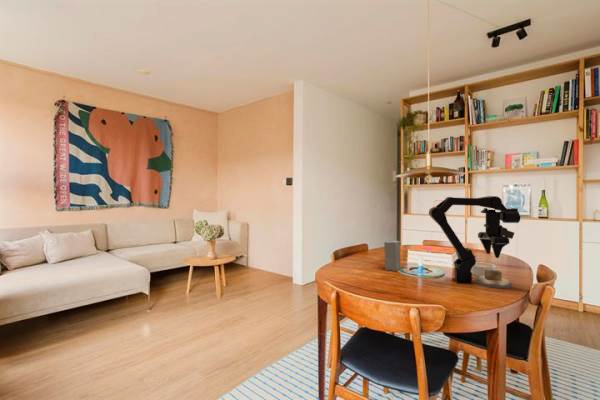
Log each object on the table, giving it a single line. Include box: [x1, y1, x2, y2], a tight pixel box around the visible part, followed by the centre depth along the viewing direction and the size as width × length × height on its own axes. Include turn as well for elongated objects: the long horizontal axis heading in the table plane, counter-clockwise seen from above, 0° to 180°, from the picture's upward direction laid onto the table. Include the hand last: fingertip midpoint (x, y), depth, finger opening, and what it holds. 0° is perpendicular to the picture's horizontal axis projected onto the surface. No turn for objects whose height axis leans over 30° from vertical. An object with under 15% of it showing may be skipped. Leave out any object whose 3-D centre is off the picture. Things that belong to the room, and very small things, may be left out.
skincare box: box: [383, 240, 402, 272], centre depth 169 cm, size 8×7×16 cm
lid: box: [476, 269, 511, 286], centre depth 141 cm, size 13×13×5 cm
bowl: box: [471, 261, 498, 277], centre depth 156 cm, size 11×11×5 cm
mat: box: [474, 277, 513, 289], centre depth 141 cm, size 15×15×1 cm
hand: (492, 255), depth 141 cm, fingers open, 9 cm apart
